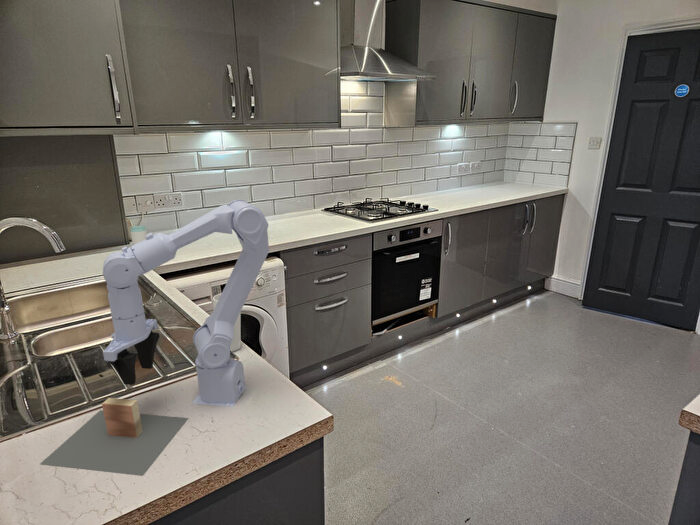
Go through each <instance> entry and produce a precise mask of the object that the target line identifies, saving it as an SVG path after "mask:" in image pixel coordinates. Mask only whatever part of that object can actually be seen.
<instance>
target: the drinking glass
mask: <svg viewBox="0 0 700 525" xmlns="http://www.w3.org/2000/svg"><path fill="white" fill-rule="evenodd" d="M221 294H222V292H221V293H218V294H216V295H214V296H213V297H212V302H213V303H212V305H213V306H212V307H213V310H214V309H215V307H216V305H217V303H218V300H219V298H220V296H221ZM241 313H242V311H241V312H240V314H239V316H238V318H237V320H236V322H235V324H234V333H233V340H232V343H231V345H230V351H231V352H230V353H233V352H236V351H238V350H239V349H241V348H242V337H241V333H242V332H241V322H242V321H241Z"/></svg>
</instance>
